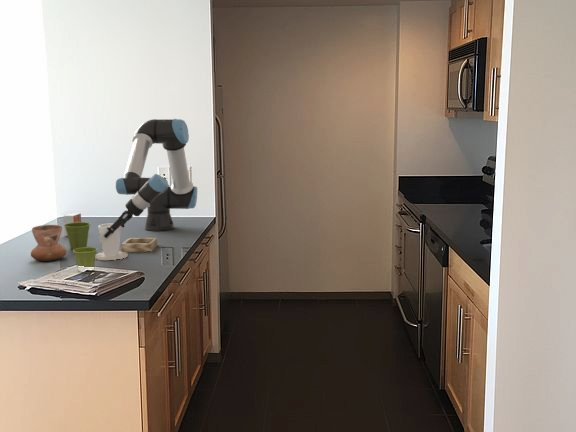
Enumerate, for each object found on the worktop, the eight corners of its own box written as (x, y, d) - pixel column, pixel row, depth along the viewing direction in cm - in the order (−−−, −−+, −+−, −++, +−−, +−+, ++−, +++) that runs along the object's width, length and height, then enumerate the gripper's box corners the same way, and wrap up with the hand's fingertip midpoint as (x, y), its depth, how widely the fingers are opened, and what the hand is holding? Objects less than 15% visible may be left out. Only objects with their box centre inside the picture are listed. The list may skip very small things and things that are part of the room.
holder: (157, 245, 316) (157, 237, 315) (151, 251, 303) (150, 244, 302) (129, 245, 316) (128, 238, 316) (121, 251, 303) (121, 244, 303)
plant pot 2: (103, 268, 273) (102, 247, 272) (89, 274, 265) (88, 252, 263) (83, 267, 276) (82, 246, 275) (69, 272, 268) (68, 251, 266)
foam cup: (102, 252, 297) (100, 223, 295) (123, 251, 298) (121, 223, 296) (98, 257, 288) (96, 227, 286) (120, 256, 289) (118, 227, 287)
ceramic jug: (66, 262, 285) (64, 229, 282) (30, 265, 280) (27, 232, 278) (66, 253, 302) (64, 222, 299) (32, 255, 297) (30, 224, 295)
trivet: (122, 252, 303) (122, 249, 302) (131, 258, 291) (131, 255, 290) (91, 255, 296) (91, 253, 296) (99, 262, 284) (99, 260, 284)
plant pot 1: (69, 252, 303) (67, 227, 302) (62, 247, 313) (61, 223, 311) (95, 248, 310) (93, 224, 308) (88, 244, 320) (86, 221, 318)
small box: (74, 236, 339) (73, 215, 337) (64, 236, 340) (62, 215, 338) (82, 233, 346) (81, 213, 345) (72, 233, 347) (71, 212, 346)
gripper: (137, 215, 277) (103, 251, 280) (150, 205, 302) (119, 238, 305) (123, 202, 276) (89, 238, 279) (138, 194, 301) (106, 227, 304)
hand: (105, 238), depth 292 cm, fingers open, 13 cm apart
